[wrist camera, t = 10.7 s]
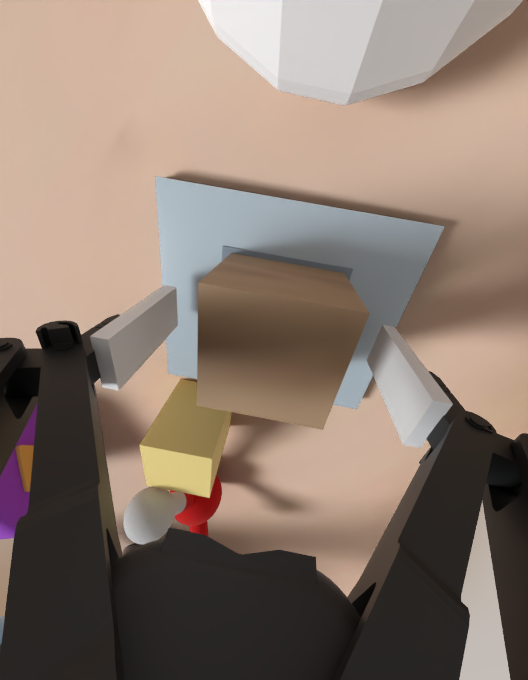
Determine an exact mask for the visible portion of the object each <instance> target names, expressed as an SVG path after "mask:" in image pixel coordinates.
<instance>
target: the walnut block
mask: <svg viewBox="0 0 528 680" xmlns="http://www.w3.org/2000/svg"><path fill="white" fill-rule="evenodd" d="M369 314H370V313H369V311H368V310H367V308H366V307H365V305H364V303H363V302H362V300H361V299H360V297H359V296H358V294H357V292H356V291H355V289H354V288H353V286H352V284H351V283H350V281H349V280H348V278H347V277H346V275H345V273H341V272H335V271H330V270H324V269H318V268H313V267H307V266H302V265H296V264H290V263H285V262H279V261H273V260H268V259H262V258H257V257H251V256H245V255H240V254H234V253H231V254H230V255H228V256H227V257H226V258H225V259H224V260H223V261H222V262H221V263H219V264H218V265H217V266H216V267H215V268H214V269H213V270H212V271H210V272H209V273H208V274H207V275H206V276H205V277H204V278H203V279H201V280H200V281H199V282H198V347H197V406H202V407H207V408H213V409H218V410H223V411H228V412H234V413H239V414H244V415H249V416H255V417H260V418H265V419H270V420H276V421H281V422H286V423H291V424H297V425H302V426H307V427H312V428H318V429H323V428H324V425H325V423H326V420H327V418H328V415H329V413H330V411H331V408H332V406H333V403H334V401H335V398H336V396H337V393H338V391H339V388H340V386H341V383H342V381H343V378H344V376H345V374H346V371H347V369H348V366H349V364H350V361H351V359H352V356H353V354H354V351H355V349H356V346H357V344H358V341H359V339H360V337H361V334H362V332H363V329H364V327H365V324H366V322H367V319H368V317H369Z"/></svg>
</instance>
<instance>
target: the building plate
mask: <svg viewBox="0 0 528 680" xmlns="http://www.w3.org/2000/svg"><path fill="white" fill-rule="evenodd" d="M155 181H156V196H157V211H158V226H159V241H160V256H161V271H162V286H164V285H167V286H172V287H176V288H177V315H178V326H177V327H176V328H175V329H174V330H173V331H172V332H171V334H170V335H169V336H168V337H167V338H166V345H167V360H168V374H173V375H178V376H183V377H189V378H194V379H197V347H198V282H199V281H200V280H201V279H203V278H204V277H205V276H206V275H207V274H208V273H209V272H210V271H212V270H213V269H214V268H215V267H216V266H217V265H218V264H219V263H221V262H222V261H223V260H224V259H225V258H226V257H227V256H228V255H230V254H231V253H234V254H240V255H245V256H251V257H257V258H262V259H268V260H273V261H279V262H285V263H290V264H296V265H302V266H307V267H313V268H318V269H324V270H330V271H335V272H341V273H345V275H346V277H347V278H348V280H349V281H350V283H351V284H352V286H353V288H354V289H355V291H356V292H357V294H358V296H359V297H360V299H361V300H362V302H363V303H364V305H365V307H366V308H367V310H368V311H369V313H370V314H369V317H368V319H367V322H366V324H365V327H364V329H363V332H362V334H361V337H360V339H359V341H358V344H357V346H356V349H355V351H354V354H353V356H352V359H351V361H350V364H349V366H348V369H347V371H346V374H345V376H344V378H343V381H342V383H341V386H340V388H339V391H338V393H337V396H336V398H335V401H334V403H333V405H337V406H342V407H348V408H353V409H357V408H358V406H359V404H360V402H361V399H362V397H363V395H364V393H365V391H366V389H367V387H368V385H369V383H370V381H371V379H372V377H373V374H372V372H371V370H370V367H369V365H368V363H367V358H368V356H369V354H370V351H371V349H372V347H373V345H374V342H375V340H376V338H377V336H378V333H379V331H380V329H381V327H382V325H387V326H392V327H395V328H396V327H397V325H398V323H399V321H400V319H401V316H402V314H403V312H404V310H405V308H406V306H407V304H408V302H409V300H410V298H411V296H412V294H413V292H414V289H415V287H416V285H417V283H418V281H419V279H420V277H421V275H422V273H423V271H424V269H425V267H426V265H427V262H428V260H429V258H430V256H431V254H432V252H433V250H434V248H435V246H436V244H437V242H438V240H439V238H440V235H441V233H442V231H443V229H444V227H445V226H440V225H435V224H430V223H424V222H418V221H412V220H407V219H401V218H395V217H389V216H383V215H378V214H372V213H366V212H360V211H355V210H349V209H343V208H337V207H331V206H326V205H320V204H314V203H308V202H303V201H297V200H291V199H285V198H280V197H274V196H268V195H262V194H256V193H251V192H245V191H239V190H233V189H228V188H222V187H216V186H210V185H204V184H199V183H193V182H187V181H181V180H176V179H170V178H164V177H157V176H155Z"/></svg>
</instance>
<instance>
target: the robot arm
mask: <svg viewBox="0 0 528 680" xmlns="http://www.w3.org/2000/svg"><path fill="white" fill-rule="evenodd" d="M177 326H178V315H177V288H176V287H172V286H167V285H164V286H163V287H161V288H160V289H158V290H157V291H155V292H154V293H152V294H151V295H149V296H148V297H146V298H145V299H144V300H142V301H141V302H139V303H138V304H136V305H135V306H133V307H132V308H130V309H129V310H127V311H126V312H125V313H123V314H122V315H115V316H112V317H109V318H107V319H105V320H104V321H102V322H101V323H100V324H98V325H96V326H95V327H93V328H91V329H90V330H88V331H87V332H85V333H84V334H82V335H81V334H80V331H79V327H78V325H77V323H75V322H72V321H55V322H50V323H47V324H44V325H42V326H40V327H38V328H37V330H36V334H37V336H38V339H39V341H40V344H41V347H42V349H25V347H24V345H23V342H22V341H21V340H20V339H17V338H0V476H1V474H2V472H3V470H4V468H5V466H6V464H7V462H8V460H9V458H10V456H11V454H12V452H13V450H14V448H15V447H16V445H17V443H18V441H19V439H20V437H21V435H22V433H23V431H24V429H25V427H26V425H27V423H28V421H29V419H30V417H31V415H32V413H33V411H34V409H35V407H36V405H37V403H38V405H37V416H36V427H35V438H34V450H33V461H32V472H31V484H30V495H29V506H28V512H27V514H26V515H24V516H22V517H20V518H19V520H18V522H17V525H16V530H15V535H14V543H13V552H12V560H11V569H10V577H9V586H8V594H7V602H6V611H5V617H3V616H1V617H0V680H459V677H460V671H461V666H462V661H463V655H464V650H465V644H466V639H467V634H468V628H469V618H470V615H469V610H468V608H467V607H466V606H465V605H464V604H463V603H462V602H461V593H462V588H463V584H464V579H465V575H466V570H467V566H468V561H469V556H470V552H471V547H472V543H473V539H474V534H475V529H476V525H477V521H478V516H479V511H480V507H481V503H482V500H483V506H484V513H485V520H486V526H487V532H488V539H489V545H490V551H491V558H492V564H493V570H494V576H495V583H496V589H497V596H498V602H499V609H500V615H501V622H502V628H503V634H504V641H505V647H506V653H507V660H508V666H509V672H510V679H511V680H528V434H525V433H523V434H521V435H519V436H518V437H517V438H516V439H515V440H512V439H509V438H507V437H504V436H502V435H499V434H497V433H496V430H495V429H494V427H493V426H492V425H491V424H490V423H489V422H488V421H486V420H485V419H483V418H482V417H480V416H479V415H476V414H474V413H472V412H468V411H465V409H464V408H463V407H462V406H461V404H460V403H459V402H458V401H457V399H456V398H455V397H454V395H453V394H452V393H450V390H449V389H448V388H447V387H446V385H445V384H444V383H443V382H442V380H441V379H440V378H439V377H437V376H436V375H435V374H434V373H432V372H430V371H428V370H427V369H426V368H425V366H424V365H423V364H422V362H421V361H420V360H419V358H418V357H417V356H416V354H415V353H414V352H413V351H412V349H411V348H410V347H409V345H408V344H407V343H406V341H405V340H404V339H403V337H402V336H401V335H400V333H399V332H398V331H397V329H396V328H395V327H392V326H387V325H382V327H381V329H380V331H379V333H378V336H377V338H376V340H375V342H374V345H373V347H372V349H371V351H370V354H369V356H368V358H367V363H368V365H369V367H370V370H371V372H372V374H373V376H374V379H375V381H376V383H377V386H378V388H379V390H380V393H381V395H382V397H383V400H384V402H385V404H386V407H387V409H388V411H389V414H390V416H391V418H392V420H393V423H394V425H395V427H396V430H397V432H398V434H399V437H400V439H401V441H402V444H403V445H407V446H412V447H417V448H420V447H421V446H422V445H423V443H424V442H425V441H426V439H427V440H428V442H429V444H430V446H431V448H430V449H429V450H428V451H427V453H426V454H425V455H424V456H423V458H422V459H421V460H420V462H419V463H420V466H419V468H418V470H417V472H416V474H415V476H414V477H413V479H412V481H411V483H410V485H409V487H408V489H407V491H406V493H405V494H404V496H403V498H402V500H401V502H400V504H399V506H398V508H397V510H396V511H395V513H394V515H393V517H392V519H391V521H390V523H389V525H388V527H387V528H386V530H385V532H384V534H383V536H382V538H381V540H380V542H379V543H378V545H377V547H376V549H375V551H374V553H373V555H372V557H371V559H370V560H369V562H368V564H367V566H366V568H365V570H364V572H363V574H362V576H361V577H360V579H359V581H358V582H357V584H356V585H355V587H354V588H353V590H352V591H351V593H350V594H349V596H348V597H346V595H345V594H344V593H343V592H342V591H341V590H340V589H339V587H338V586H337V585H335V584H334V583H333V582H332V581H331V580H330V579H329V578H328V577H326V576H325V575H324V574H322V573H321V572H319V571H317V570H316V557H312V556H307V555H302V554H297V553H292V552H288V551H283V550H275V551H267V552H259V553H252V554H244V555H241V554H237V553H235V552H234V551H232V550H230V549H228V548H227V547H225V546H223V545H221V544H220V543H218V542H216V541H214V540H213V539H211V538H209V537H207V536H206V535H203V534H198V533H193V532H188V531H183V530H178V529H173V528H168V531H167V534H166V536H165V539H160V540H156V541H152V542H148V543H146V544H137V545H131V546H128V547H126V548H125V549H124V550H123V552H122V551H121V546H120V541H119V537H118V532H117V527H116V520H115V514H114V507H113V501H112V494H111V487H110V481H109V474H108V468H107V461H106V455H105V448H104V442H103V435H102V429H101V422H100V416H99V409H98V403H97V396H96V390H95V386H94V383H95V382H96V381H97V380H98V379H99V378H100V379H101V383H102V387H103V388H108V389H113V390H118V391H119V390H120V389H121V388H122V387H123V385H124V384H125V383H126V382H127V381H128V380H129V379H130V378H131V377H132V375H133V374H134V373H135V372H136V371H137V370H138V369H139V368H140V367H141V366H142V364H143V363H144V362H145V361H146V360H147V359H148V358H149V357H150V356H151V355H152V353H153V352H154V351H155V350H156V349H157V348H158V347H159V346H160V345H161V344H162V342H163V341H164V340H165V339H166V338H167V337H168V336H169V335H170V334H171V332H172V331H173V330H174V329H175V328H176V327H177Z"/></svg>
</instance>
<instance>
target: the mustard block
mask: <svg viewBox="0 0 528 680" xmlns="http://www.w3.org/2000/svg"><path fill="white" fill-rule="evenodd" d="M231 413H232V412H228V411H223V410H218V409H213V408H207V407H202V406H197V382H194V381H189V380H184V379H180V381H179V382H178V384H177V386H176V387H175V389H174V390H173V392H172V393H171V395H170V397H169V398H168V400H167V401H166V403H165V405H164V406H163V408H162V409H161V411H160V413H159V414H158V416H157V417H156V419H155V421H154V422H153V424H152V425H151V427H150V429H149V430H148V432H147V433H146V435H145V437H144V438H143V440H142V441H141V443H140V445H139V446H140V452H141V457H142V463H143V469H144V474H145V480H146V485H147V486H152V487H157V488H162V489H167V490H172V491H177V492H182V493H188V494H193V495H198V496H203V497H208V498H210V494H211V491H212V487H213V484H214V480H215V477H216V473H217V470H218V466H219V463H220V459H221V456H222V452H223V449H224V445H225V442H226V438H227V435H228V431H229V428H230V421H231Z"/></svg>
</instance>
